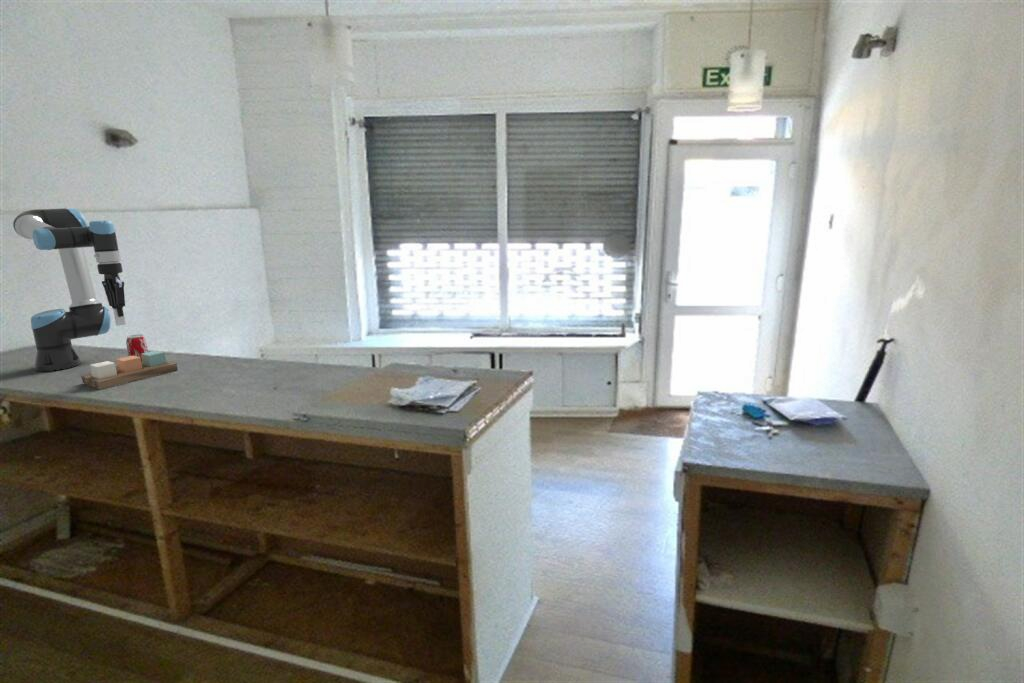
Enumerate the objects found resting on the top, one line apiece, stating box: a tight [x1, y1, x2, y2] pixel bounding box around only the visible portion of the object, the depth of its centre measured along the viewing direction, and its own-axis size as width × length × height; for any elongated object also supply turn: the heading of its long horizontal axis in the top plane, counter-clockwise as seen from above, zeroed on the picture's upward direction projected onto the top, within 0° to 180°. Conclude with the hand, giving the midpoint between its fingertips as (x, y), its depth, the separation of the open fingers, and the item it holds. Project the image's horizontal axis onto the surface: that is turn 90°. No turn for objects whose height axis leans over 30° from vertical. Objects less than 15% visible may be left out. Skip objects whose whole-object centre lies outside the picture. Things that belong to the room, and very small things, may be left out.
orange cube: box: [115, 356, 142, 373], centre depth 227 cm, size 6×6×6 cm
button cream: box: [89, 360, 117, 379], centre depth 220 cm, size 6×6×6 cm
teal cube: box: [141, 349, 167, 367], centre depth 234 cm, size 6×6×6 cm
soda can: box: [125, 334, 149, 362], centre depth 245 cm, size 7×7×12 cm
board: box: [81, 360, 178, 390], centre depth 228 cm, size 14×28×3 cm, turn 146°
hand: (121, 324), depth 224 cm, fingers closed
